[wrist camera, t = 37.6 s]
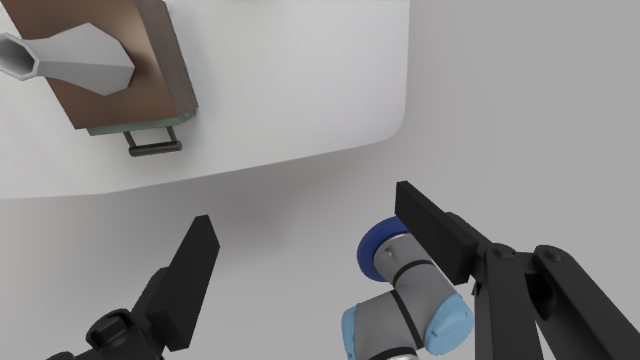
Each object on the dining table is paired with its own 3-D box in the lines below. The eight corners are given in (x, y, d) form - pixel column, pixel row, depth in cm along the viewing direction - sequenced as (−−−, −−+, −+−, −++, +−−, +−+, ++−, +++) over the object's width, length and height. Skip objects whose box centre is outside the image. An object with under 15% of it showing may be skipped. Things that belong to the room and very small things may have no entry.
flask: (108, 106, 29) (35, 122, 20) (44, 53, 26) (-76, 44, 17) (148, 68, 28) (89, 68, 19) (87, 9, 25) (-17, -25, 16)
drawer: (204, 139, 41) (189, 154, 34) (136, 149, 40) (106, 165, 33) (164, 20, 33) (135, 7, 26) (77, 26, 32) (22, 15, 25)
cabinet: (198, 106, 39) (177, 117, 31) (120, 116, 38) (75, 129, 29) (165, 2, 33) (126, -22, 24) (68, 8, 31) (-9, -15, 23)
